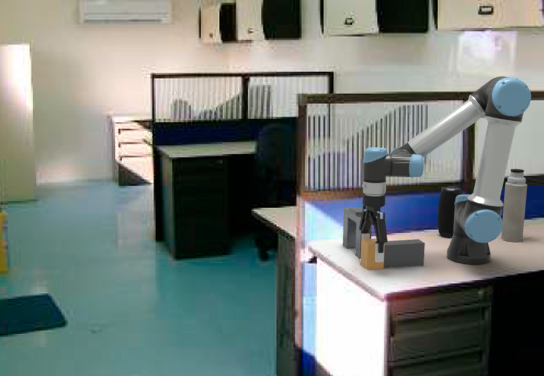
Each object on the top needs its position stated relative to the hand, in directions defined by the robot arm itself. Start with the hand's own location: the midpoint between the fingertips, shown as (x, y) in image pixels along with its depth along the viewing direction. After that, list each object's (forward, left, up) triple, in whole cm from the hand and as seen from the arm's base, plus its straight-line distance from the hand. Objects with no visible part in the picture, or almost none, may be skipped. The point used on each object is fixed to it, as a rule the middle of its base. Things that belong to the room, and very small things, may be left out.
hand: (372, 256), depth 238 cm
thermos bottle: (+23, -68, -4) cm, 72 cm away
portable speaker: (+33, -46, -4) cm, 57 cm away
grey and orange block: (+1, -8, -4) cm, 9 cm away
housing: (+19, -1, -4) cm, 19 cm away
